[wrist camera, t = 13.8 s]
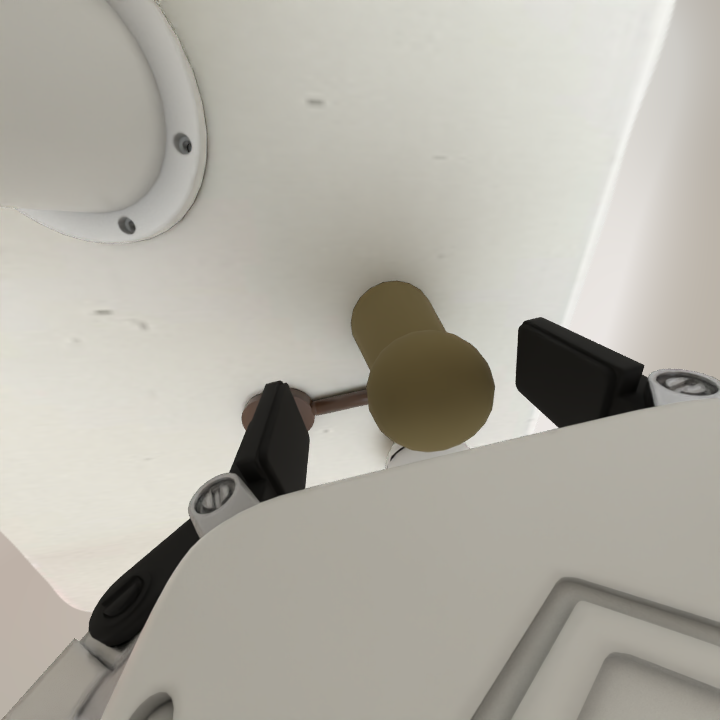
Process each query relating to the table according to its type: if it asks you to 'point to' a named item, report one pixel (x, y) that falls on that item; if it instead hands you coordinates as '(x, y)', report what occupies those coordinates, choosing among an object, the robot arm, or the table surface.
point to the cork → (419, 371)
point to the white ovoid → (416, 454)
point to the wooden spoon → (312, 405)
